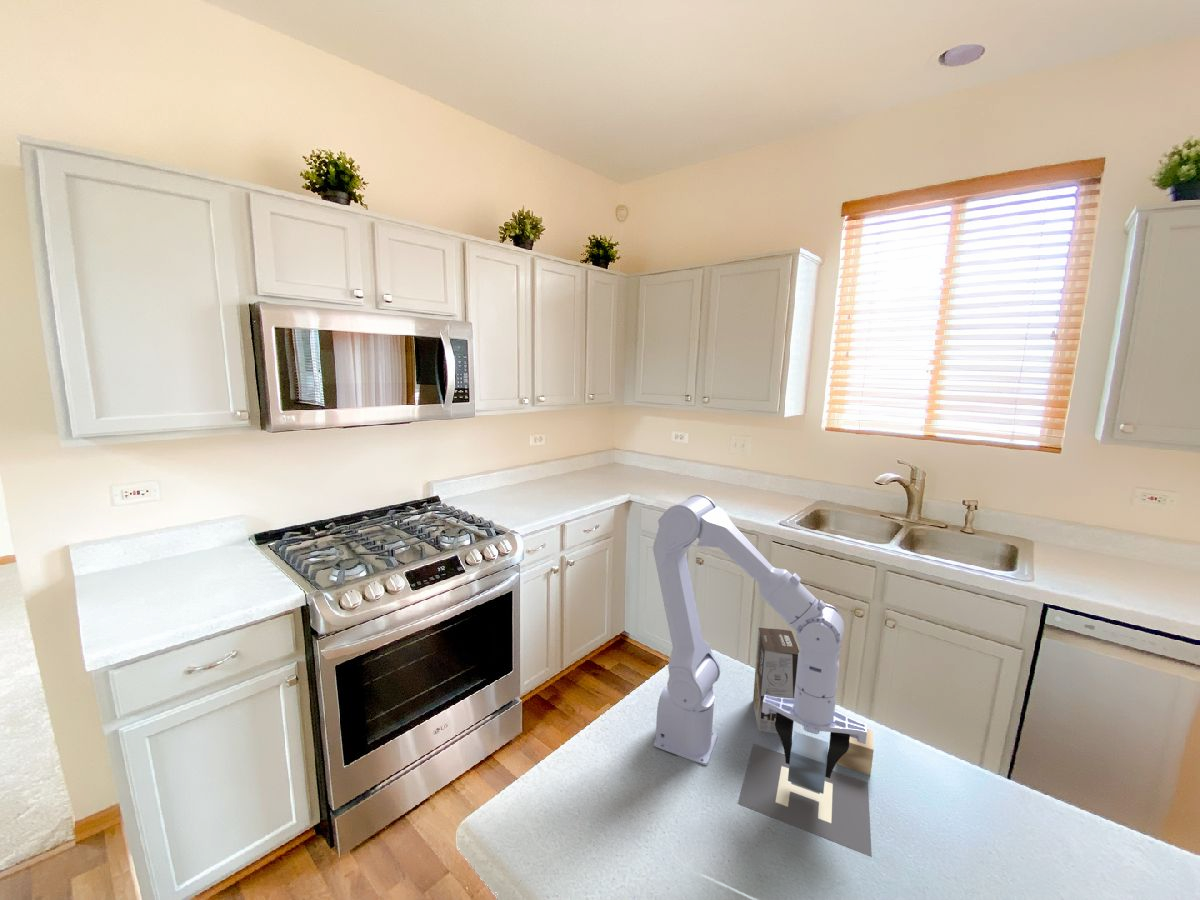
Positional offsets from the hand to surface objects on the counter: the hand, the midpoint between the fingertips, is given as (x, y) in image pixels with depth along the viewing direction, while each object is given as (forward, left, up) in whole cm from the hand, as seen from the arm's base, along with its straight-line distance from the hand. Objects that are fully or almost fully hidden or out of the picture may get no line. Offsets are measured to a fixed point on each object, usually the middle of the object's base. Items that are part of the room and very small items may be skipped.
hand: (807, 766), depth 77 cm
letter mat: (0, 0, -5) cm, 5 cm away
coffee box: (-7, +16, -5) cm, 18 cm away
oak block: (+7, +11, -5) cm, 14 cm away
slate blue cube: (0, 0, -2) cm, 2 cm away
